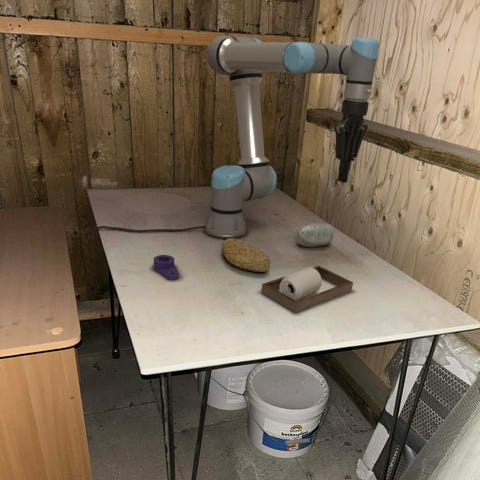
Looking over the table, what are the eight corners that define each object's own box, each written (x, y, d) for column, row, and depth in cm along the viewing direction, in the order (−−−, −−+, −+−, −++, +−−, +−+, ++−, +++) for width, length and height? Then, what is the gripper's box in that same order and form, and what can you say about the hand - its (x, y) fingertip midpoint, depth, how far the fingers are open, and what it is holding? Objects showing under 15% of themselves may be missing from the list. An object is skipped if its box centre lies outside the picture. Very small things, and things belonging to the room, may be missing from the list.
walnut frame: (295, 313, 130) (296, 303, 129) (261, 292, 139) (262, 283, 138) (351, 291, 144) (353, 282, 142) (317, 274, 153) (318, 265, 151)
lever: (151, 265, 150) (150, 256, 149) (169, 262, 153) (169, 253, 151) (165, 281, 141) (165, 272, 140) (184, 278, 144) (184, 268, 143)
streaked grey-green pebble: (327, 229, 179) (329, 211, 170) (336, 249, 174) (339, 231, 166) (292, 238, 178) (293, 220, 169) (300, 258, 173) (301, 240, 165)
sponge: (216, 258, 161) (232, 271, 143) (220, 235, 159) (237, 245, 141) (252, 262, 166) (272, 276, 148) (257, 240, 164) (277, 251, 146)
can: (327, 285, 138) (302, 297, 130) (310, 294, 144) (285, 306, 136) (315, 262, 138) (289, 273, 131) (299, 272, 144) (273, 283, 136)
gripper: (351, 102, 132) (337, 187, 144) (380, 101, 140) (364, 182, 152) (331, 98, 137) (319, 181, 149) (360, 97, 144) (346, 176, 157)
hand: (342, 181), depth 150 cm, fingers closed
